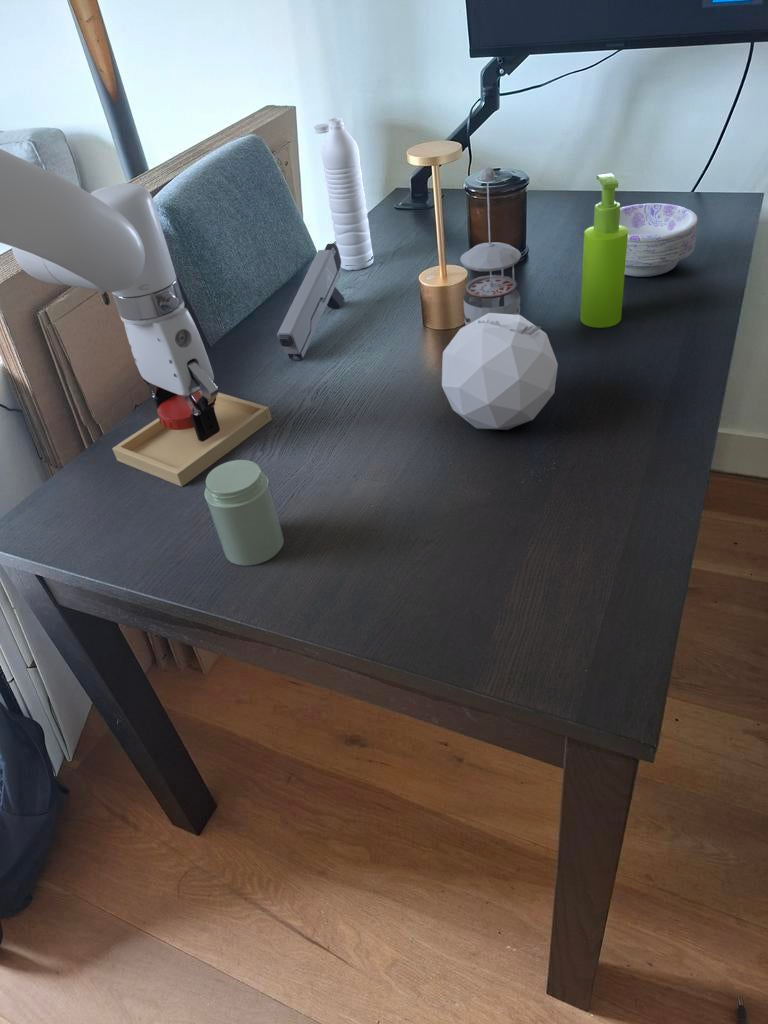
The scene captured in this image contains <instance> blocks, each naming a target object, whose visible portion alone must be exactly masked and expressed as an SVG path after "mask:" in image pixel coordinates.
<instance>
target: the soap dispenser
mask: <svg viewBox="0 0 768 1024" xmlns="http://www.w3.org/2000/svg"><path fill="white" fill-rule="evenodd" d="M596 180H598V181H599V183H600V185H601V201H599V202H598V203H596V204H595V205H594V214H593V225H592V226H590V227H588V228H586V229H585V230H584V232H583V249H582V251H583V252H582V273H581V292H580V293H581V296H580V315H579V316H580V317H579V318H580V322H581V323H582V324H583V325H585V326H587V327H589V328H597V329H605V328H610V327H614V326H616V325H618V324H619V323H621V320H622V314H623V313H622V312H623V300H624V289H625V288H624V287H625V276H626V275H625V264H626V251H627V239H628V229H627V228H626V227H624V226H621V225H619V219H620V208H621V203H620V202H617V201H616V200H615V198H616V197H615V196H616V189H619V182H618V181H619V180H617V178H616V176H615V175H614V174H613V173H605V174H597V175H596Z"/></svg>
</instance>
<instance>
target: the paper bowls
mask: <svg viewBox="0 0 768 1024" xmlns="http://www.w3.org/2000/svg"><path fill="white" fill-rule="evenodd" d="M698 224H699V218H698V216H697V214H696V213H695V212H693V211H692V210H691V209H689V208H686V207H684V206H681V205H676V204H669V203H655V202H654V203H638V204H630V205H625V206H621V207H620V219H619V225H621V226H624V227H626V228H627V229H628V239H627V251H626V264H625V276H628V277H635V278H648V277H655V276H660V275H663V274H666V273H668V272H669V271H672V270H673V269H674V268H675V267H676V266H677V265H678V263H679V262H680V261H681V260H684V259H685V258H687V257H688V256H691V254H692V253H694V251H695V247H696V241H697V234H698V226H699V225H698Z"/></svg>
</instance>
